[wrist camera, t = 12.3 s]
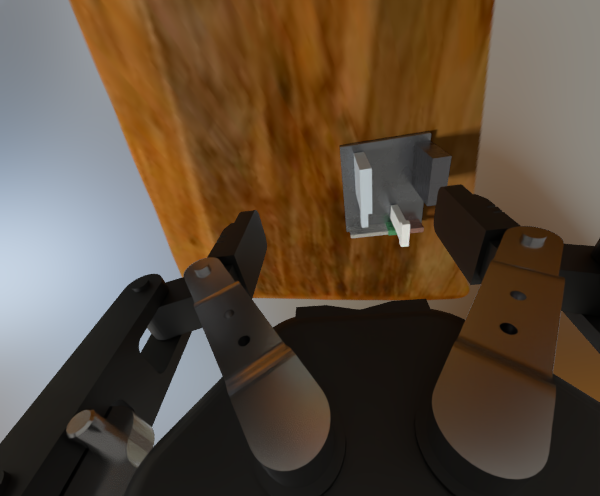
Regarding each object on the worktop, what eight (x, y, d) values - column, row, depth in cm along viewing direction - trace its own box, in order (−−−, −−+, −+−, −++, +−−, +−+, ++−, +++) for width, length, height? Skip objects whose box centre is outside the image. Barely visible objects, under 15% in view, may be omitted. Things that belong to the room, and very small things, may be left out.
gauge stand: (346, 228, 45) (350, 257, 38) (339, 145, 37) (343, 163, 30) (419, 220, 43) (436, 249, 36) (428, 131, 35) (453, 146, 28)
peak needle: (390, 222, 42) (401, 246, 36) (390, 201, 40) (402, 224, 34) (396, 221, 42) (408, 246, 36) (397, 201, 40) (410, 224, 34)
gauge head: (357, 218, 42) (362, 243, 36) (353, 153, 36) (359, 170, 30) (365, 217, 42) (372, 242, 36) (363, 151, 36) (371, 168, 30)
